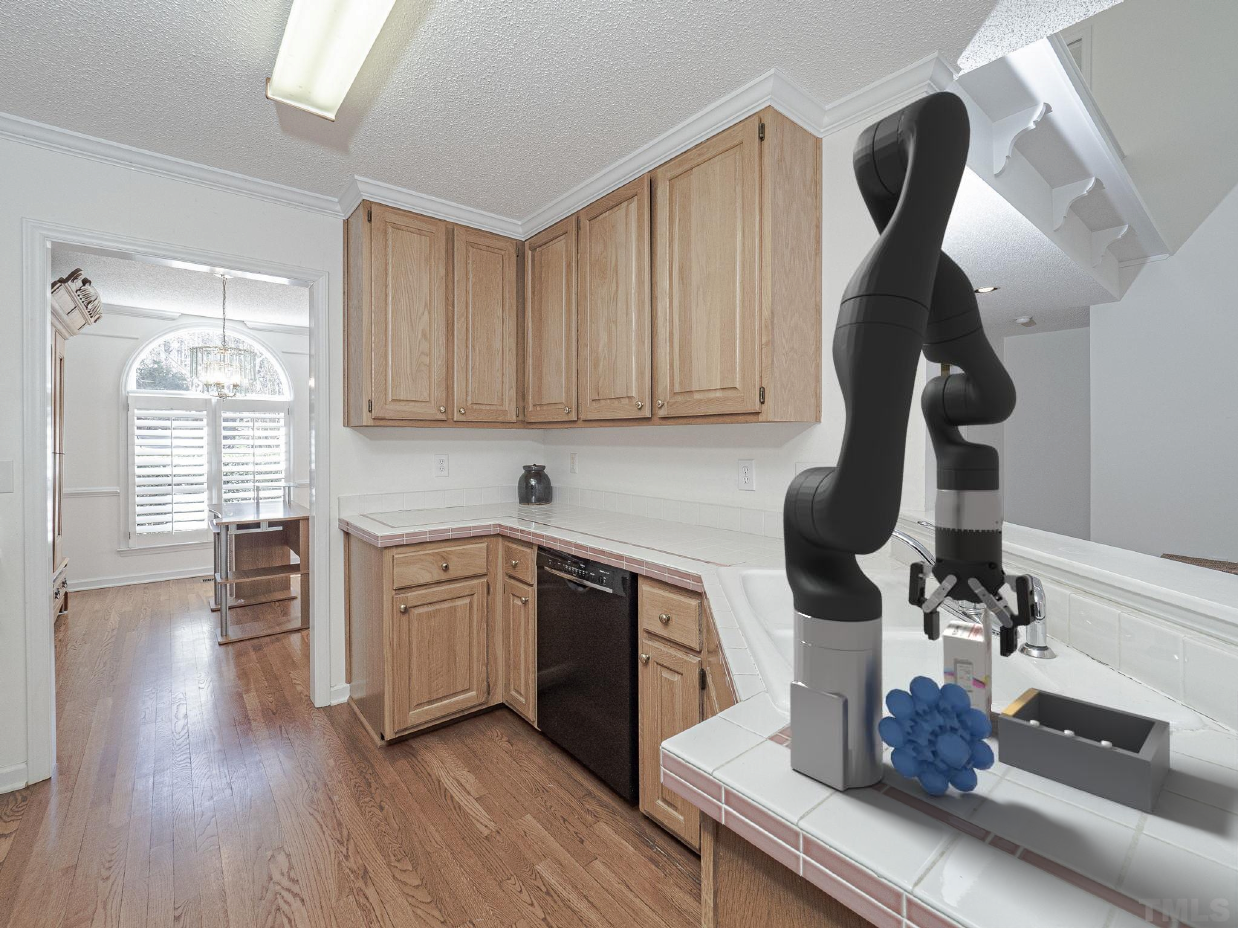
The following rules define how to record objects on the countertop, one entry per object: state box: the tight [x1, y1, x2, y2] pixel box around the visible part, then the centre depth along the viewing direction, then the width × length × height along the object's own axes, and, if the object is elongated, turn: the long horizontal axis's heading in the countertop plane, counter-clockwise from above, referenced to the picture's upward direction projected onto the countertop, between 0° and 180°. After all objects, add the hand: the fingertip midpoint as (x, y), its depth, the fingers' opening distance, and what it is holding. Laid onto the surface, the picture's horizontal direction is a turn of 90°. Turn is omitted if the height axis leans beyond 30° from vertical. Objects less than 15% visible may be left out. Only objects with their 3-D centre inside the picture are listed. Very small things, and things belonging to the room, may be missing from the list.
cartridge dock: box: [997, 687, 1171, 815], centre depth 63 cm, size 13×13×5 cm
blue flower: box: [878, 675, 995, 796], centre depth 56 cm, size 12×7×12 cm, turn 90°
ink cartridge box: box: [941, 605, 993, 721], centre depth 74 cm, size 9×5×15 cm, turn 143°
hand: (968, 646), depth 74 cm, fingers open, 8 cm apart
